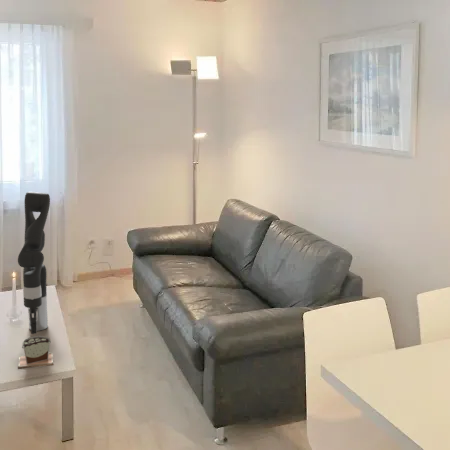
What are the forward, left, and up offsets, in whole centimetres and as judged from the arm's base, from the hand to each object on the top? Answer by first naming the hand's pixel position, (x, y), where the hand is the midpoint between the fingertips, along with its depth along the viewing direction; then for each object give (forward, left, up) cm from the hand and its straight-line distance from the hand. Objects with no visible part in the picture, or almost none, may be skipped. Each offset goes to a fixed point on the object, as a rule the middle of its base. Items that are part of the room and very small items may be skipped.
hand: (34, 329), depth 257 cm
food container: (0, 0, -15) cm, 15 cm away
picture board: (0, 0, -15) cm, 15 cm away
